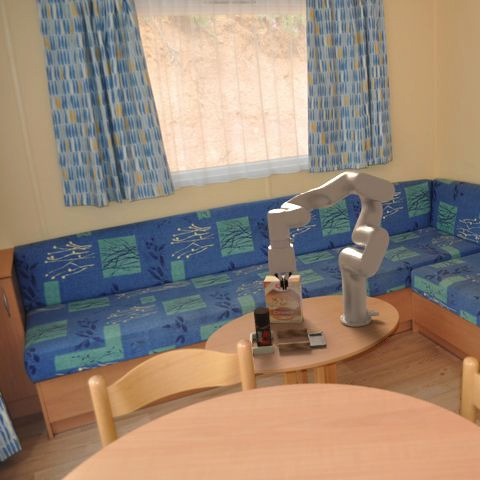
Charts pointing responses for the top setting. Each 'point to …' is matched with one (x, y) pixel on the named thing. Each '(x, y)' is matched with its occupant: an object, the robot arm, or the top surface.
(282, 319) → the coffeecake box
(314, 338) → the tray
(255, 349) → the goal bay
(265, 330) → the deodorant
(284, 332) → the channel
